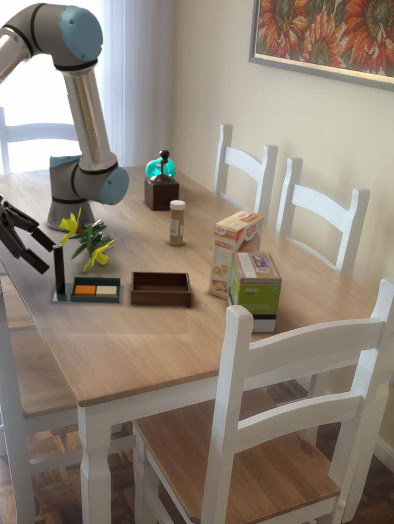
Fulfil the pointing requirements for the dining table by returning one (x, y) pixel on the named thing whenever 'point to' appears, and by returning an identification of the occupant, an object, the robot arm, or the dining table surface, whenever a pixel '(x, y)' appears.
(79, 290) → the sachet orange
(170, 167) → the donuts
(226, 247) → the coffeecake box
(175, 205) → the spice jar
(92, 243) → the daffodil flowers
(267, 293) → the tea box
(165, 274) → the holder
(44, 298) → the dining table surface
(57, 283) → the green tray with post
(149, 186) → the wooden coffee grinder
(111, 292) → the block
